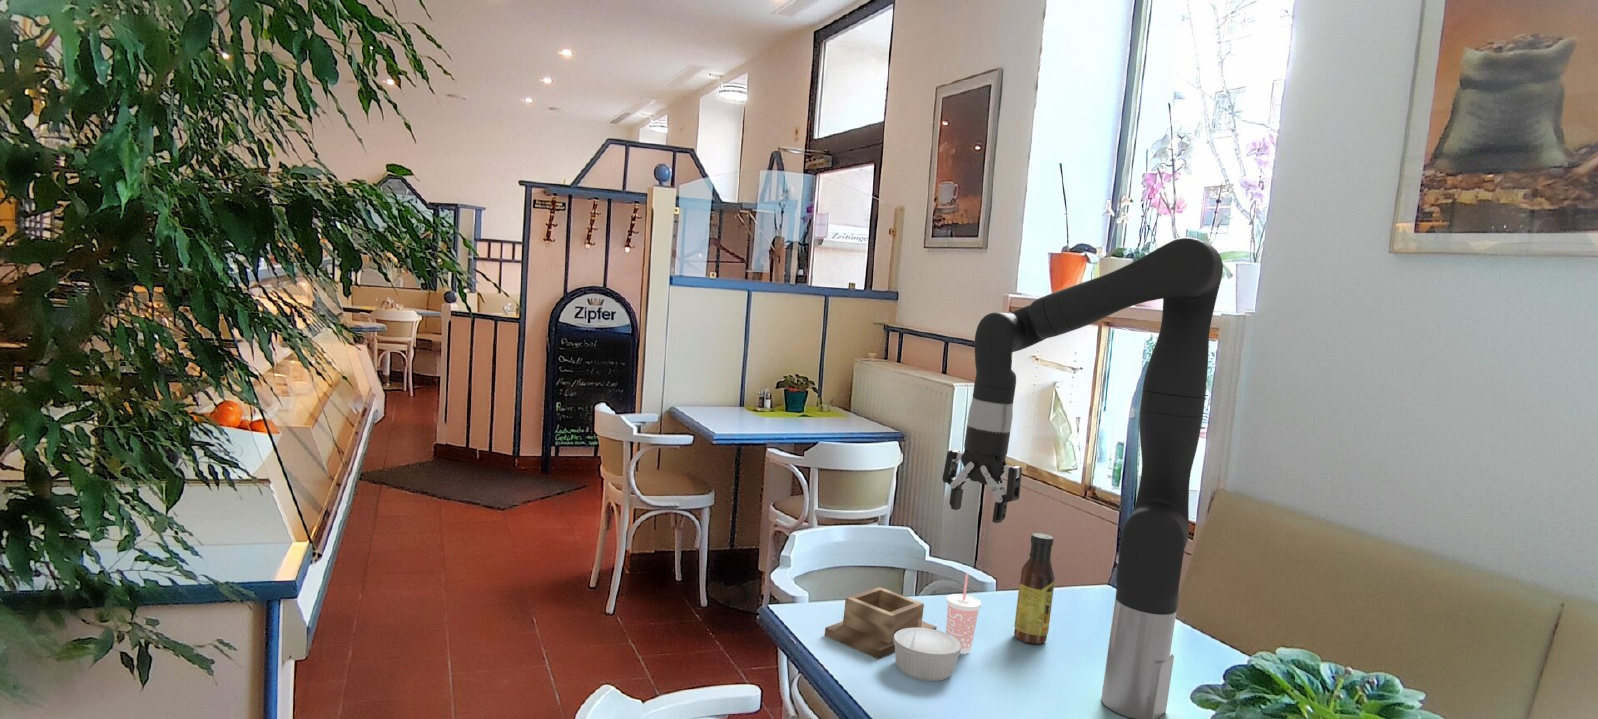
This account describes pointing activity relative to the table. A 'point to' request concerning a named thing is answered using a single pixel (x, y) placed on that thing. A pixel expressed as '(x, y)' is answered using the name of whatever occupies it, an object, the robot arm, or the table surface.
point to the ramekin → (926, 653)
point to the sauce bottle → (1035, 592)
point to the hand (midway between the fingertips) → (975, 515)
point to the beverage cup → (962, 617)
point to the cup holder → (876, 621)
